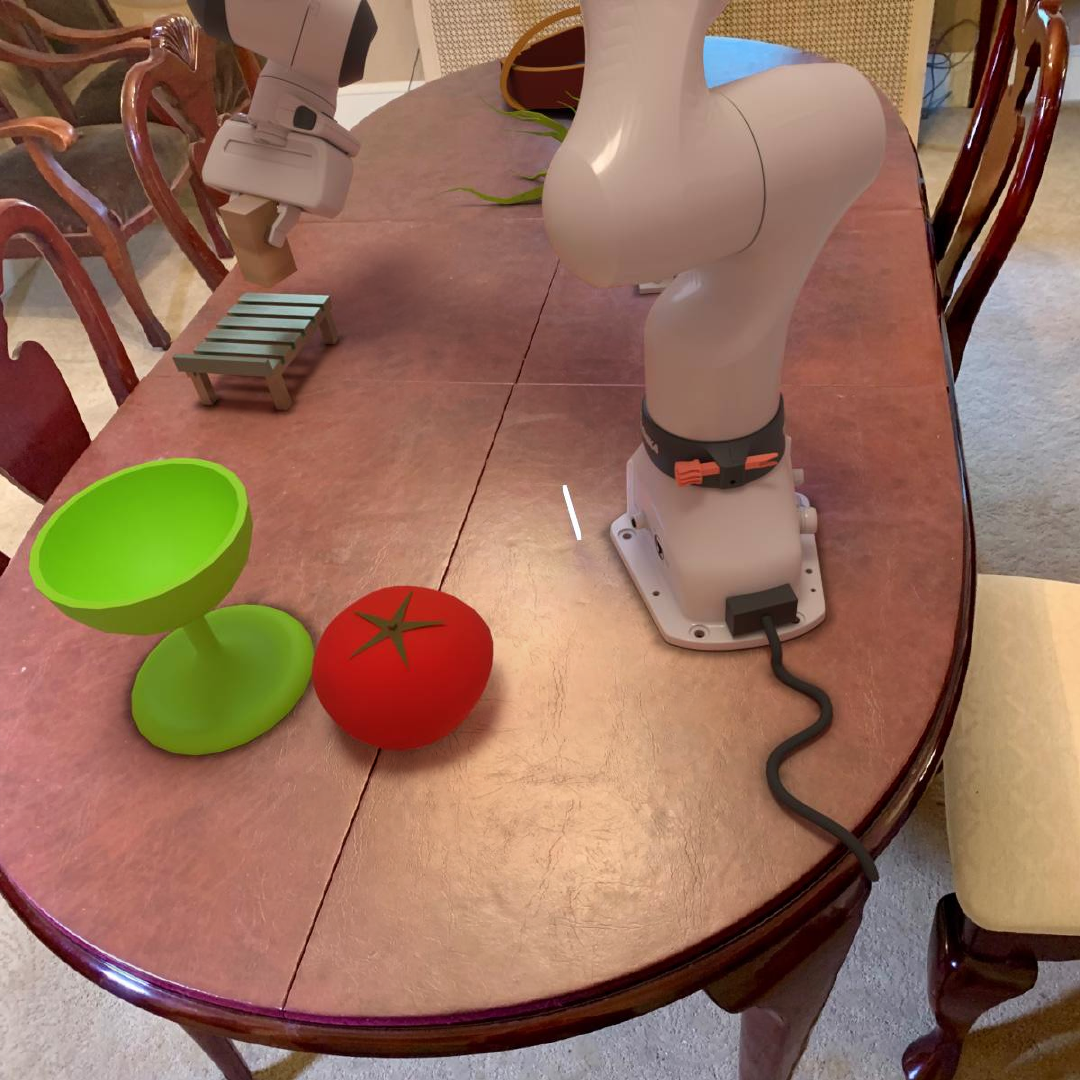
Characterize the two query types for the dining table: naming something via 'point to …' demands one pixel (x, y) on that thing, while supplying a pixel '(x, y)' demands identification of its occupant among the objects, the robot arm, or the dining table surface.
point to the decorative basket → (545, 67)
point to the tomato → (403, 666)
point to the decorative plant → (525, 196)
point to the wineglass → (176, 600)
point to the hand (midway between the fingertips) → (254, 240)
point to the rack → (258, 341)
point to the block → (256, 240)
